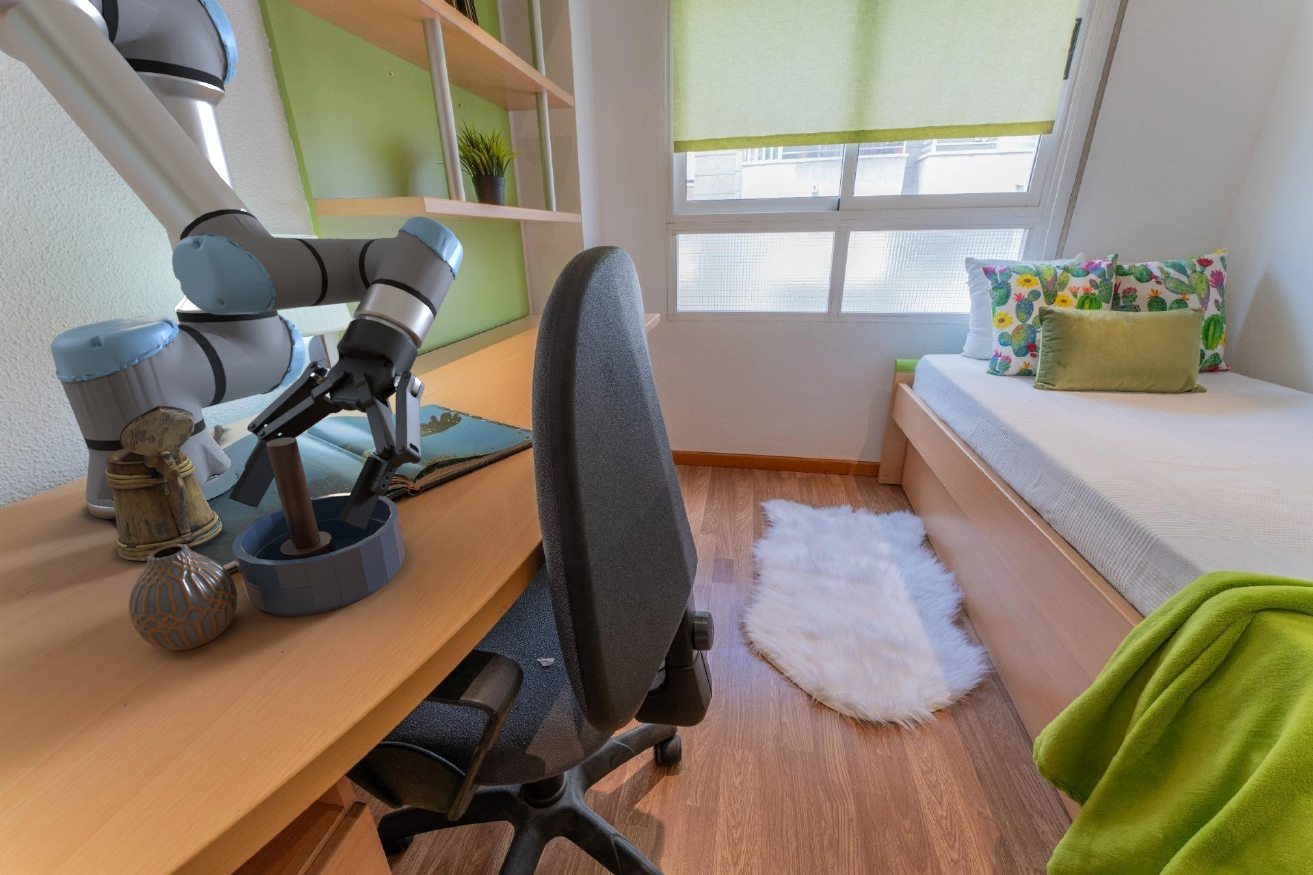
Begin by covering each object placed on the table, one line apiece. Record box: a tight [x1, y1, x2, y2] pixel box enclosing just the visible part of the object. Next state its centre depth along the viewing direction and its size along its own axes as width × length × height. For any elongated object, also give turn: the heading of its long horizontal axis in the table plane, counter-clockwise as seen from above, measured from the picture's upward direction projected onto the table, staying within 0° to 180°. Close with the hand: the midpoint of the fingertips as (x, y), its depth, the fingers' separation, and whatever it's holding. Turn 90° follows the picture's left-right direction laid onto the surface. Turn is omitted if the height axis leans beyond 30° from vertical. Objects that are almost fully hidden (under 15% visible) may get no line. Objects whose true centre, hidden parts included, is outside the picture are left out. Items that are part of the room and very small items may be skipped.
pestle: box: [266, 437, 335, 561], centre depth 52 cm, size 4×4×15 cm
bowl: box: [231, 492, 406, 617], centre depth 55 cm, size 14×14×6 cm
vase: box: [128, 544, 238, 651], centre depth 45 cm, size 7×7×9 cm
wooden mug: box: [105, 406, 223, 562], centre depth 57 cm, size 9×14×18 cm, turn 61°
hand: (295, 514), depth 51 cm, fingers open, 13 cm apart
